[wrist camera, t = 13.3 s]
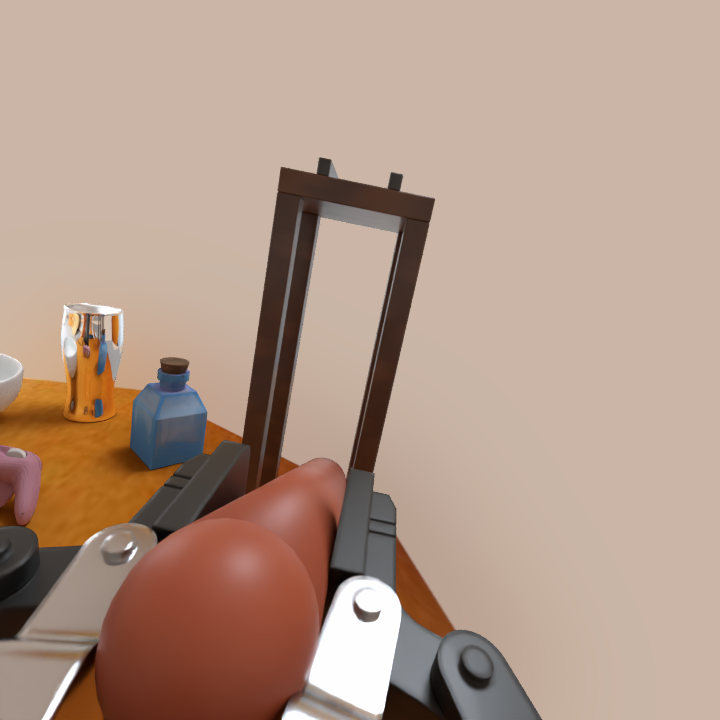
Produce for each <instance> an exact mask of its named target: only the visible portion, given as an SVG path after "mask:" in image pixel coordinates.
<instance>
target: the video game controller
mask: <svg viewBox="0 0 720 720" xmlns="http://www.w3.org/2000/svg"><path fill="white" fill-rule="evenodd" d="M41 470H42V462H41V460H40V458H39V457H38V456H37V455H35V454H33V453H31V452H28V451H24V450H21V449H18V448H13V447H9V446H3V445H0V508H1V507H2V506H4V505H5V504H7V503H8V501H9V500H10V499H11V498H12V496H13V495H14V494H15V503H14V512H15V518H16V521H17V523H18V524H19V525H25V524H27V523H28V522H29V521H30V519H31V518H32V516H33V513H34V511H35V508H36V504H37V499H38V494H39V490H40V478H41Z"/></svg>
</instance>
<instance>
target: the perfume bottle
mask: <svg viewBox="0 0 720 720" xmlns="http://www.w3.org/2000/svg"><path fill="white" fill-rule="evenodd" d="M160 363H161V368H159V369H158V376H157V378H158V380H160V383H149V384H148V385H147V386H146V387H145V388H144V389H143V390H142V391H141V393H140V394H139V395H138V396H137V397H136V398H135V399H134V401H133V413H132V427H131V441H130V448H131V449H132V450H133V451H134V452H135V453H136V454H137V455H138V457H139V458H140V459H141V460H142V461H143V462H144V463H145V464H146V465H147V466H148V468H149V469H150V470H153V469H157V468H161V467H166V466H170V465H174V464H178V463H182V462H185V461H187V460H189V459H191V458H193V457H195V456H196V455H198V454H200V453H203V445H204V437H205V428H206V419H207V411H206V409H205V407H204V405H203V403H202V401H201V399H200V397H199V395H198V394H197V392H196V391H195V390H194V389H192V388H191V387H189V386H188V385H187V384H186V382H187V381H188V380H189V373H190V372H189V370H187V368H188V365H189V361H187V360H186V359H181V358H174V357H169V358H162V359H160Z"/></svg>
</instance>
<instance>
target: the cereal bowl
mask: <svg viewBox="0 0 720 720" xmlns="http://www.w3.org/2000/svg"><path fill="white" fill-rule="evenodd" d="M23 371H24V370H23V366H22V364H21V363H20V362H19V361H18V360H16V359H14V358H12V357H10V356H7V355H4V354H1V353H0V412H2V411H3V410H5V409H6V408H7V407H8V406H9V405H10V404H11V403H12V402H13V401H14V400H15V399H16V397H17V396H18V393H19V392H20V389H21V386H22V381H23Z"/></svg>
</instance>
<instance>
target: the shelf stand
mask: <svg viewBox="0 0 720 720" xmlns="http://www.w3.org/2000/svg"><path fill="white" fill-rule="evenodd" d="M402 178H403V175H402V174H398V173H393V172H391V174H390V179H389V184H388V189H387V188H382V187H377V186H372V185H367V184H362V183H357V182H352V181H348V180H343V179H338V176H337V174H336V171H335V168H334V166H333V163H332V161H331V159H326V158H319V161H318V168H317V174H314V173H309V172H304V171H299V170H294V169H290V168H285V167H281V170H280V177H279V184H278V193H277V198H276V206H275V213H274V220H273V227H272V234H271V241H270V248H269V255H268V262H267V269H266V277H265V284H264V291H263V298H262V305H261V313H260V319H259V327H258V333H257V341H256V348H255V355H254V362H253V369H252V376H251V383H250V391H249V397H248V404H247V405H248V406H247V412H246V419H245V426H244V433H243V440H242V444H245V445H249V446H250V459H249V468H248V477H247V486H246V492H245V495H246V494H248V493H249V492H251V491H253V490H255V489H257V488H259V487H261V486H263V485H265V484H267V483H268V482H270V481H272V480H274V479H276V478H277V476H278V470H279V464H280V458H281V452H282V446H283V440H284V434H285V428H286V422H287V416H288V410H289V404H290V398H291V392H292V386H293V380H294V373H295V368H296V362H297V356H298V349H299V344H300V338H301V332H302V326H303V320H304V314H305V308H306V301H307V296H308V290H309V283H310V278H311V271H312V266H313V260H314V254H315V248H316V242H317V236H318V230H319V224H320V217H323V218H328V219H333V220H338V221H342V222H347V223H352V224H357V225H362V226H367V227H372V228H376V229H381V230H386V231H391V232H396V233H398V235H397V240H396V244H395V249H394V254H393V259H392V264H391V268H390V273H389V277H388V283H387V287H386V292H385V297H384V302H383V306H382V311H381V316H380V321H379V325H378V330H377V335H376V339H375V344H374V349H373V354H372V359H371V363H370V368H369V373H368V377H367V382H366V387H365V392H364V397H363V401H362V406H361V411H360V416H359V420H358V425H357V430H356V434H355V439H354V444H353V449H352V453H351V458H350V463H349V468H348V472H347V477H346V486H347V481H348V476H349V472H350V468H353V469H357V470H362V471H366V472H371V473H373V470H374V466H375V462H376V457H377V453H378V448H379V444H380V440H381V435H382V431H383V427H384V422H385V418H386V413H387V408H388V404H389V400H390V396H391V391H392V387H393V382H394V378H395V374H396V369H397V364H398V360H399V356H400V351H401V347H402V343H403V338H404V334H405V329H406V325H407V321H408V316H409V312H410V308H411V303H412V298H413V294H414V290H415V285H416V281H417V277H418V272H419V268H420V263H421V259H422V255H423V250H424V246H425V241H426V237H427V233H428V228H429V222H430V219H431V215H432V210H433V206H434V202H435V199H434V198H430V197H425V196H421V195H415V194H411V193H406V192H401V191H400V188H401V183H402ZM345 490H346V489H345Z"/></svg>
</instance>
